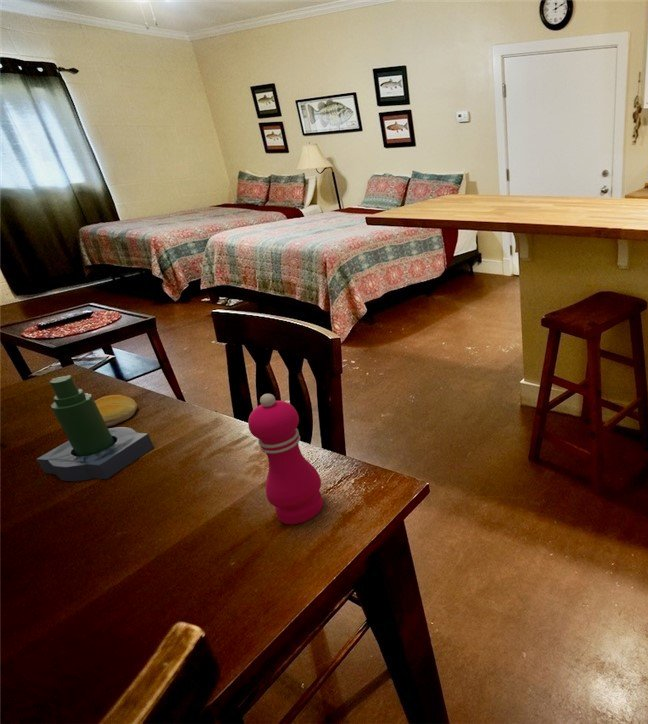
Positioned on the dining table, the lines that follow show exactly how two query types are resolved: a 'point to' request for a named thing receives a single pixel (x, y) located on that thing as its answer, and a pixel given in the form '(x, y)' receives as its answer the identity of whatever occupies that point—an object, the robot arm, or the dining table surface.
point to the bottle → (79, 418)
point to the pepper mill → (285, 462)
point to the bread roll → (116, 408)
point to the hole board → (96, 457)
